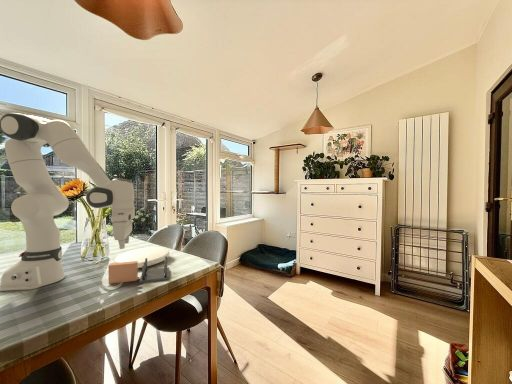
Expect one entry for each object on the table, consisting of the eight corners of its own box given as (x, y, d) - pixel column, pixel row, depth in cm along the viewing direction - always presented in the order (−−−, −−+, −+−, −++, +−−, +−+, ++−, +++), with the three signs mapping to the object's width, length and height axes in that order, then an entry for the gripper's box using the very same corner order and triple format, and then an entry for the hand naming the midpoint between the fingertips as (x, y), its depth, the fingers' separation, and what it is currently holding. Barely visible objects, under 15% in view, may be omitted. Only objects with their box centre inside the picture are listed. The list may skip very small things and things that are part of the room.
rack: (139, 283, 99) (139, 267, 99) (143, 272, 112) (143, 258, 111) (168, 279, 104) (168, 264, 103) (169, 269, 116) (169, 255, 116)
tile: (108, 283, 99) (108, 265, 99) (110, 281, 102) (110, 263, 102) (136, 280, 103) (136, 263, 102) (137, 277, 106) (137, 260, 105)
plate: (131, 265, 108) (103, 256, 122) (133, 278, 109) (104, 268, 123) (178, 246, 132) (150, 240, 146) (179, 257, 133) (151, 250, 146)
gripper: (120, 212, 110) (121, 240, 111) (109, 218, 91) (110, 252, 91) (135, 211, 112) (136, 239, 113) (127, 217, 93) (128, 251, 93)
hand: (124, 245), depth 102 cm, fingers open, 8 cm apart
